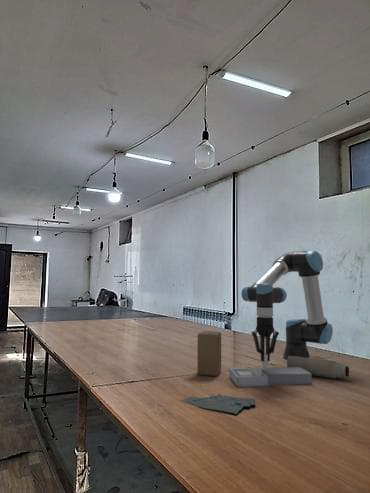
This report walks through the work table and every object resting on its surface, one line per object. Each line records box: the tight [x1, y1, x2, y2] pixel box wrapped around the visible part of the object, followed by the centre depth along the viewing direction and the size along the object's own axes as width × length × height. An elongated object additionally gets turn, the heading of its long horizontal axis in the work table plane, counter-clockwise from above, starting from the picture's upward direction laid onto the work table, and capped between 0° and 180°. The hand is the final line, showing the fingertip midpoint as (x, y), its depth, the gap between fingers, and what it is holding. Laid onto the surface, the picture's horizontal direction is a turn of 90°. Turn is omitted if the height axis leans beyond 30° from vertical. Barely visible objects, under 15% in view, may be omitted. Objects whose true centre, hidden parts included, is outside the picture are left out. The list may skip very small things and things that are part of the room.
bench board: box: [261, 367, 313, 386], centre depth 170 cm, size 20×12×4 cm, turn 96°
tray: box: [228, 367, 270, 388], centre depth 168 cm, size 14×16×4 cm
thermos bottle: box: [286, 356, 350, 379], centre depth 179 cm, size 8×8×28 cm
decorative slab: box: [181, 393, 256, 417], centre depth 136 cm, size 26×24×2 cm
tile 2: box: [250, 364, 262, 377], centre depth 168 cm, size 6×6×3 cm
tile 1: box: [237, 372, 254, 377], centre depth 168 cm, size 6×6×3 cm
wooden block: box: [196, 330, 222, 377], centre depth 182 cm, size 10×10×20 cm
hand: (265, 368), depth 169 cm, fingers closed
